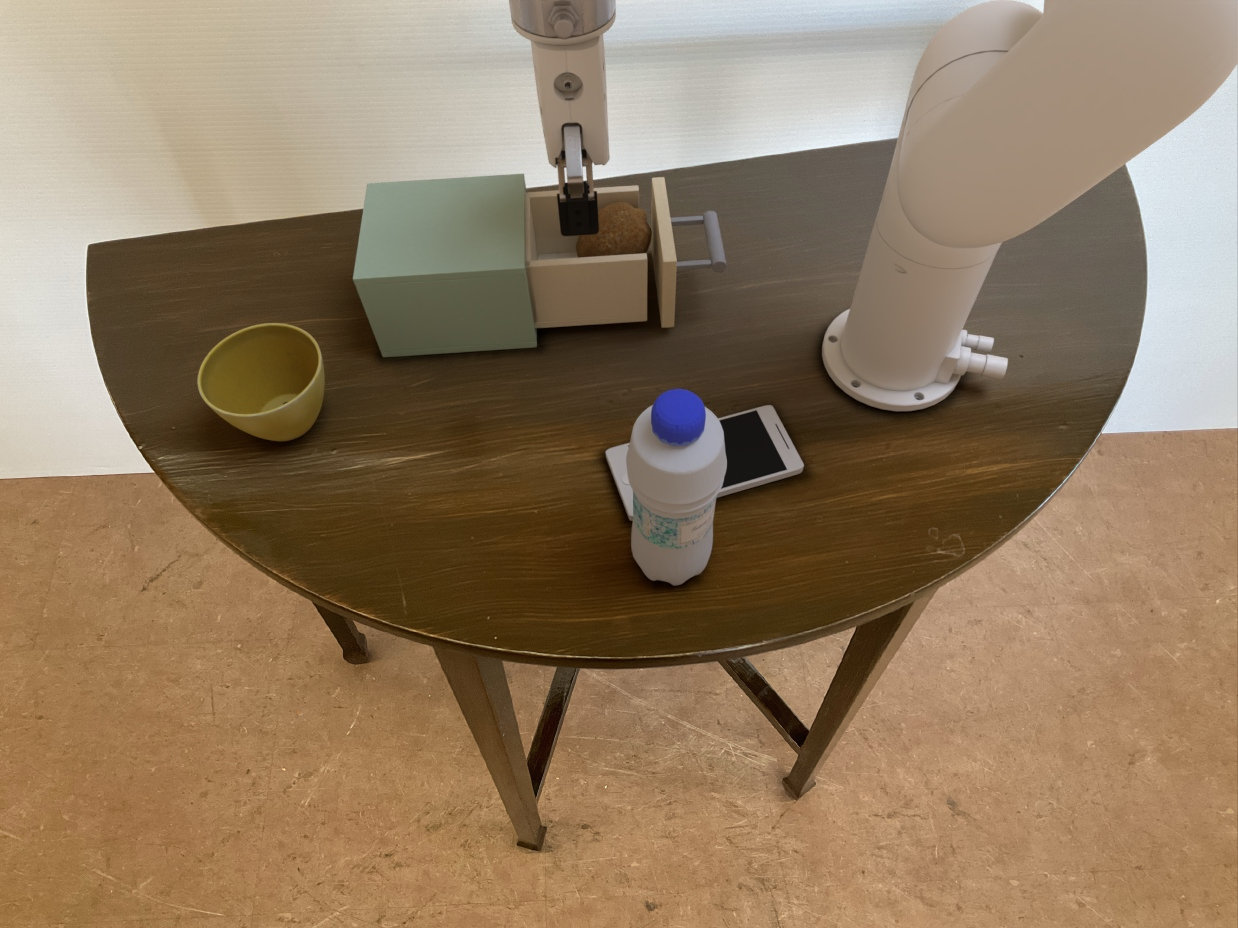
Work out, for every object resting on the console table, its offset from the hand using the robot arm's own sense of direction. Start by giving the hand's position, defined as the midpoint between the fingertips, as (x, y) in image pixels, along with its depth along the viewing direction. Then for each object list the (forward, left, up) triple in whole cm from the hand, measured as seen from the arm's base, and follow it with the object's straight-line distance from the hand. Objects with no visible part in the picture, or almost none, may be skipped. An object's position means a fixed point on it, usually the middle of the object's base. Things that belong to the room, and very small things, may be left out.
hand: (577, 195), depth 74 cm
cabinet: (+12, +4, -12) cm, 17 cm away
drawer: (-4, -1, -11) cm, 12 cm away
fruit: (0, 0, -9) cm, 9 cm away
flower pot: (+21, +22, -12) cm, 33 cm away
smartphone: (-16, +17, -12) cm, 26 cm away
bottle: (-15, +26, -12) cm, 32 cm away
